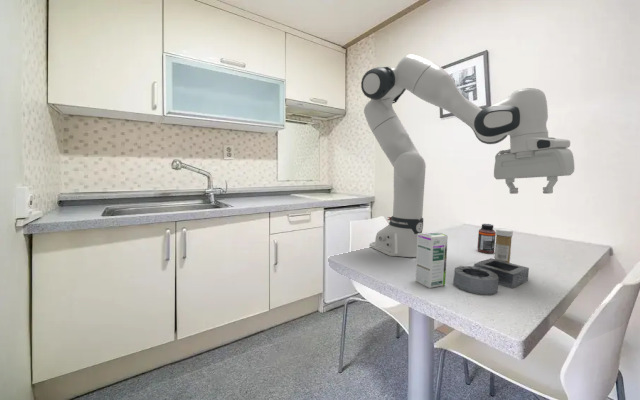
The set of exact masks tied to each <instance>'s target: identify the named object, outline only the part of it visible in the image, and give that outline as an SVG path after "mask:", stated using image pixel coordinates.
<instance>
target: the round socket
mask: <svg viewBox="0 0 640 400" xmlns="http://www.w3.org/2000/svg"><path fill="white" fill-rule="evenodd" d="M453 273H454V274H453V285H454V286H455V287H457V289H459V290H461V291H464V292H467V293H470V294H476V295H481V296H482V295H483V296H485V295H488V296H491V295H495V294H497V293H498V290H499V288H498V287H499V284H498V279H499V278H498V275H497V274H495V273H494V272H492V271H489V270H486V269H482V268H478V267H474V266H470V265H469V266H468V265H464V266H463V265H461V266H460V265H459V266H456V267H454V272H453Z"/></svg>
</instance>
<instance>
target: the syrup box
mask: <svg viewBox="0 0 640 400" xmlns="http://www.w3.org/2000/svg"><path fill="white" fill-rule="evenodd" d="M448 239H449V238H448V235H447V234H445V233H442V232H439V231H438V232H437V231H429V232H422V233H418V236H417V257H416V261H415V263H416V265H415V281H416V282H417V283H418V284H420V285H423V286H424V287H427V288H428V289H432V288H436V287H437V288H438V287H442V286H446V276H447V275H446V273H447V258H448V257H447V256H448V255H447V253H448V252H447V251H448Z"/></svg>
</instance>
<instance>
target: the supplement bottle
mask: <svg viewBox="0 0 640 400" xmlns="http://www.w3.org/2000/svg"><path fill="white" fill-rule="evenodd" d="M495 244H496V230H494V224H492V223H491V224H490V223H482V224H481V227H480V229H479V230H478V235H477V247H476V248H477V251H478V252H480V253H482V254H493V253H494V254H495Z"/></svg>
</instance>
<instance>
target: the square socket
mask: <svg viewBox="0 0 640 400" xmlns="http://www.w3.org/2000/svg"><path fill="white" fill-rule="evenodd" d="M473 267H478V268H482V269H486V270H489V271H492V272H494V273H495V274H497V275H498V278H499V279H498V285H501V286H504V287H506V288H509V289H514V288H516V287H519V286H520V285H522V284H524V283H526V282H528V280H529V272H530V268H529V267H527V266H523V265H519V264H516V263H511V262H510V263H508V262H504V261H500V260H496V259H495V258H488V259H484V260H481V261H479V262H475V263H474V266H473Z"/></svg>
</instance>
